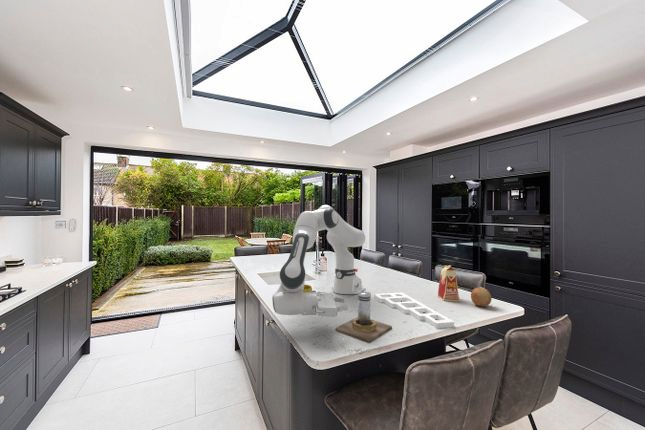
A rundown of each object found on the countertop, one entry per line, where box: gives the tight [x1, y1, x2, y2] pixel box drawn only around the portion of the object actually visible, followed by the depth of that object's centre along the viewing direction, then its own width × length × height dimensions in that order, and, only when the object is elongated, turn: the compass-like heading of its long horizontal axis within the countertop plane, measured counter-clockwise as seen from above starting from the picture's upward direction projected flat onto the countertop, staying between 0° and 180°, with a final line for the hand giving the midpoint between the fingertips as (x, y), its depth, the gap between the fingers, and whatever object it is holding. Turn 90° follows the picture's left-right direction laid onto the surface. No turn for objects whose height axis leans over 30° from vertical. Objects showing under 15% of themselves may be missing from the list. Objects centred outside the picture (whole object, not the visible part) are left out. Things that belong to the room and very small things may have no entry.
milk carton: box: [437, 264, 461, 302], centre depth 159 cm, size 9×9×20 cm
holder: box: [373, 292, 455, 329], centre depth 139 cm, size 45×18×3 cm, turn 13°
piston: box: [357, 291, 372, 326], centre depth 115 cm, size 5×5×14 cm
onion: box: [470, 286, 492, 308], centre depth 147 cm, size 10×10×10 cm
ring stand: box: [334, 316, 393, 344], centre depth 115 cm, size 18×16×3 cm
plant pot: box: [303, 284, 313, 293], centre depth 143 cm, size 10×10×10 cm
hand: (345, 303), depth 114 cm, fingers open, 8 cm apart
